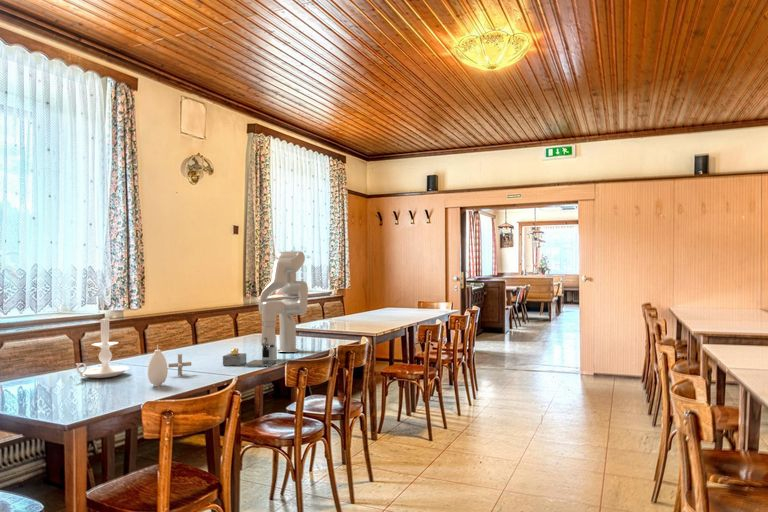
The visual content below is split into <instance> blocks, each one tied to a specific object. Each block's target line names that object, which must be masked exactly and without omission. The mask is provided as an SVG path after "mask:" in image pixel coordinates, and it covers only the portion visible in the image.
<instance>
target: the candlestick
mask: <svg viewBox="0 0 768 512" xmlns="http://www.w3.org/2000/svg"><path fill="white" fill-rule="evenodd" d="M109 338H111V337H110V317H108V318H102V319H101V318H100V340H101V342H94V343H91V346H95V347H98V348H100V351H99V353H98V356H97V357H98V359H99V361H100V363H102V365H101V366H97V367H91V368H88V366H87V364H86V363H84V362H80V363H77V362H76V363H75V365H76V372H77V373H78V374H79V376H80V378H86V377H88V378H93V379H106V378H112V377H116V376H119V375H122V374H124V373H125V372H126V371H128V370H129V369H130V367H129V366H126V365H109V362H110V361H111V359H112V358H113V353H112V352H111V350H110V348H111V347H113V346H115V345H117V344H119V341H109ZM82 365H83V366H84V369H83V370H81V371H80V366H82Z"/></svg>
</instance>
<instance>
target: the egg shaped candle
mask: <svg viewBox="0 0 768 512" xmlns="http://www.w3.org/2000/svg"><path fill="white" fill-rule="evenodd" d="M156 346H157V347H156V349H155V350H153V351H154V353H153V354H151V357H150V360H149V361H148V366H147V377H148V380H149V382H150V384H152V386H154V387H161V386H163V383H165V382H166V379H167V378H168V374H169V373H168V370H169V369H168V368H169V367H168V363H167V359H166V358H165V355H164V354H163V353H162V350H161V349H159V344H158V343H157V344H156Z"/></svg>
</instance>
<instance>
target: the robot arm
mask: <svg viewBox="0 0 768 512" xmlns="http://www.w3.org/2000/svg"><path fill="white" fill-rule="evenodd" d="M305 260H306V256H305V254H304V252H303V251H301V250H298V251H297V250H294V251H291V250H289V251H286V250H285V251H279V252H277V253H276V255H275V260H273V263H272V264H273V265H272V270H271V278H270V282H269V283H268V285H266V287H264V289H263V290H262V292H261V294H259V295H260V296H259V302H258V311H259V313H260V314H261V339H260V340H261V342H260V343H261V346H262V348H263V357H269V350H268V348H269V347H276V340H277V339H276V337H277V336H276V327H277V315H278V318H279V349H277V351H278V352H295V353H298V352H299V350H300V349H299V348H297V329H296V326H297V325H296V320H295V317H293V316H300V315H301V316H302V315H305V314H306V313H307V311H308V298H309V287H308V283H307V282H306V281H304V280H297V272H298V271H299V270H300V269H301V267H303V265H304V263H305ZM280 289H281V295H282V296H283V297H288V298H283V299H280V300H274V299H273V300H272V299H271V300H268V297H269V296H270V295H271V294H273V293H274V292H276V291H278V290H280ZM291 297H293V298H291ZM294 297H295V298H294ZM297 297H298V298H297ZM297 351H298V352H297ZM278 352H277V353H278Z"/></svg>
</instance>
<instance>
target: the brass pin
mask: <svg viewBox="0 0 768 512" xmlns="http://www.w3.org/2000/svg"><path fill="white" fill-rule="evenodd" d="M230 353H231V355H238V353H239V348H231V349H230Z"/></svg>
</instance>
